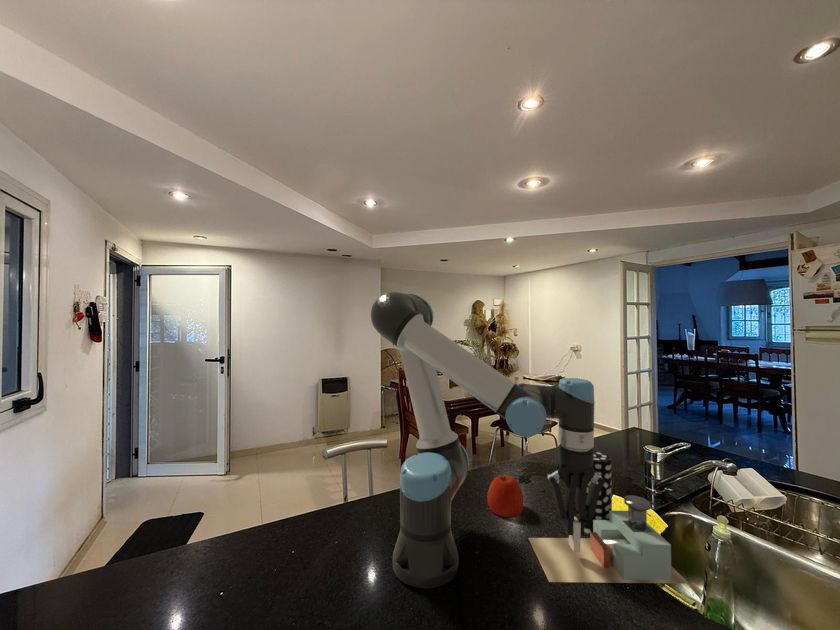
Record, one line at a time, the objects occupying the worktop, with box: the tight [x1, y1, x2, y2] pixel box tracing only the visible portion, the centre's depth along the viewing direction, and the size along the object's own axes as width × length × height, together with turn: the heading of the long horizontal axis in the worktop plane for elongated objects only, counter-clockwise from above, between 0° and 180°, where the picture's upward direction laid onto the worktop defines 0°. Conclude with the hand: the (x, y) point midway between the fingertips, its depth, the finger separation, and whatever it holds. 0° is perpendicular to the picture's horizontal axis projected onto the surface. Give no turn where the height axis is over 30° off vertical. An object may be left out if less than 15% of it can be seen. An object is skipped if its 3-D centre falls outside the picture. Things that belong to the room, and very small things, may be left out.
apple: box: [486, 474, 524, 518], centre depth 103 cm, size 10×10×10 cm
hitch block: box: [593, 509, 672, 580], centre depth 81 cm, size 10×13×7 cm
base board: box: [528, 537, 689, 584], centre depth 81 cm, size 29×15×1 cm, turn 89°
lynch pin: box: [589, 532, 631, 568], centre depth 81 cm, size 13×6×4 cm, turn 89°
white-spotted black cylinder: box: [584, 449, 613, 535], centre depth 93 cm, size 8×8×20 cm
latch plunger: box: [623, 494, 652, 531], centre depth 81 cm, size 5×5×6 cm
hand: (574, 547), depth 81 cm, fingers closed
